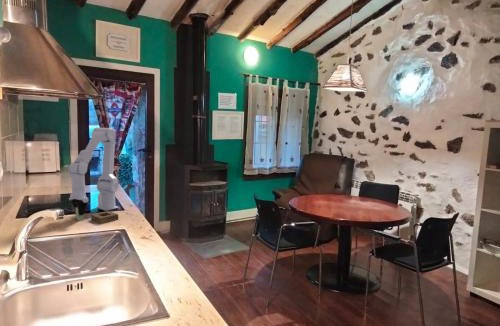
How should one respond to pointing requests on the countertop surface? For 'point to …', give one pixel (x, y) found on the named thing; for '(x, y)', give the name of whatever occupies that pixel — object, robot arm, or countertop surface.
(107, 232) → the countertop surface
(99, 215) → the brown square frame
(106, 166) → the robot arm
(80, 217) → the sage peg
